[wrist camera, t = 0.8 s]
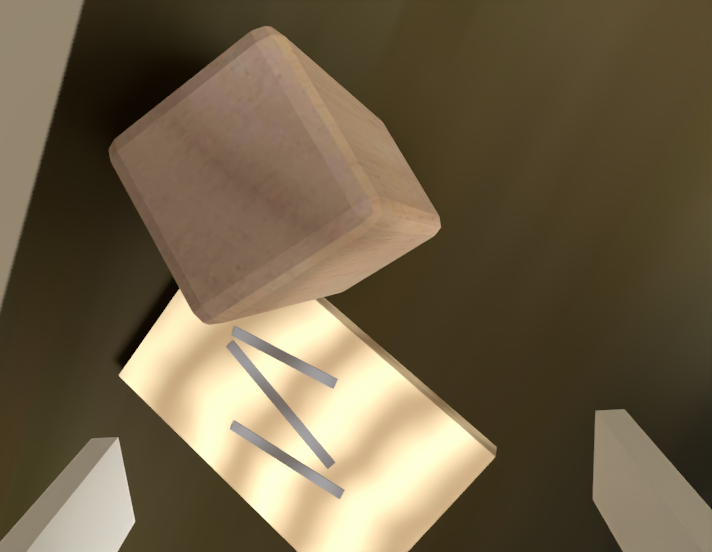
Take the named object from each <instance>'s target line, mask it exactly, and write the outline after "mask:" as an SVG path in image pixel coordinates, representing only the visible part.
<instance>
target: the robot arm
mask: <svg viewBox="0 0 712 552" xmlns="http://www.w3.org/2000/svg"><path fill="white" fill-rule="evenodd" d="M593 501H594V503H595V504H596V506H597V508H598V510H599V511H600V513H601V515H602V517H603V518H604V520H605V522H606V523H607V525H608V527H609V529H610V530H611V532H612V534H613V536H614V537H615V539H616V541H617V543H618V544H619V546H620V548H621V549H622V551H623V552H712V509H711V508H710V507H709V506H708V505H707V504H706V503H705V501H704V500H703V499H702V498H701V497H700V496H699V494H698V493H697V492H696V491H695V490H694V489H693V488H692V486H691V485H690V484H689V483H688V482H687V481H686V480H685V478H684V477H683V476H682V475H681V474H680V473H679V471H678V470H677V469H676V468H675V467H674V466H673V465H672V463H671V462H670V461H669V460H668V459H667V458H666V456H665V455H664V454H663V453H662V452H661V451H660V450H659V448H658V447H657V446H656V445H655V444H654V443H653V442H652V440H651V439H650V438H649V437H648V436H647V435H646V433H645V432H644V431H643V430H642V429H641V428H640V427H639V425H638V424H637V423H636V422H635V421H634V420H633V418H632V417H631V416H630V415H629V414H628V413H627V412H626V410H625V409H617V410H599V411H595V439H594V472H593ZM134 523H135V518H134V513H133V508H132V503H131V498H130V493H129V488H128V483H127V478H126V473H125V468H124V463H123V458H122V453H121V448H120V443H119V438H118V437H110V438H92V439H91V440H90V441H89V442H88V443H87V444H86V445H85V446H84V448H83V449H82V450H81V451H80V452H79V453H78V454H77V455H76V457H75V458H74V459H73V460H72V461H71V462H70V463H69V465H68V466H67V467H66V468H65V469H64V470H63V471H62V472H61V474H60V475H59V476H58V477H57V478H56V479H55V480H54V482H53V483H52V484H51V485H50V486H49V487H48V488H47V489H46V491H45V492H44V493H43V494H42V495H41V496H40V497H39V499H38V500H37V501H36V502H35V503H34V504H33V505H32V506H31V508H30V509H29V510H28V511H27V512H26V513H25V514H24V516H23V517H22V518H21V519H20V520H19V521H18V522H17V523H16V525H15V526H14V527H13V528H12V529H11V530H10V531H9V533H8V534H7V535H6V536H5V537H4V538H3V539H2V540H1V542H0V552H118V550H119V548H120V547H121V545H122V543H123V541H124V540H125V538H126V536H127V535H128V533H129V531H130V530H131V528H132V526H133V525H134Z"/></svg>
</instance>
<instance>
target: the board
mask: <svg viewBox="0 0 712 552" xmlns="http://www.w3.org/2000/svg"><path fill="white" fill-rule="evenodd" d="M119 377H121V378H122V379H123V380H124V381H125V382H126V383H127V384H128V385H129V386H130V387H131V388H132V389H133V390H134V391H135V392H136V393H137V394H138V395H139V396H140V397H141V398H142V399H143V400H144V401H145V402H146V403H147V404H148V405H149V406H150V407H151V408H152V409H153V410H154V411H155V412H156V413H157V414H158V415H159V416H160V417H161V418H162V419H163V420H164V421H165V422H166V423H167V424H168V425H169V426H170V427H171V428H172V429H173V430H174V431H175V432H176V433H177V434H178V435H180V436H181V437H182V438H183V439H184V440H185V441H186V442H187V443H188V444H189V445H190V446H191V447H192V448H193V449H194V450H195V451H196V452H197V453H198V454H199V455H200V456H201V457H202V458H203V459H204V460H205V461H206V462H207V463H208V464H209V465H210V466H211V467H212V468H213V469H214V470H215V471H216V472H217V473H218V474H219V475H220V476H221V477H222V478H223V479H224V480H225V481H226V482H227V483H228V484H229V485H230V486H231V487H232V488H233V489H234V490H235V491H236V492H237V493H238V494H240V495H241V496H242V497H243V498H244V499H245V500H246V501H247V502H248V503H249V504H250V505H251V506H252V507H253V508H254V509H255V510H256V511H257V512H258V513H259V514H260V515H261V516H262V517H263V518H264V519H265V520H266V521H267V522H268V523H269V524H270V525H271V526H272V527H273V528H274V529H275V530H276V531H277V532H278V533H279V534H280V535H281V536H282V537H283V538H284V539H285V540H286V541H287V542H288V543H289V544H290V545H291V546H292V547H293V548H294V549H295V550H296V551H297V552H408V551H409V550H410V549H411V548H412V547H413V546H414V544H415V543H416V542H417V541H418V540H419V539H420V538H421V537H422V536H423V535H424V534H425V533H426V531H427V530H428V529H429V528H430V527H431V526H432V525H433V524H434V523H435V522H436V521H437V520H438V518H439V517H440V516H441V515H442V514H443V513H444V512H445V511H446V510H447V509H448V508H449V507H450V505H451V504H452V503H453V502H454V501H455V500H456V499H457V498H458V497H459V496H460V495H461V494H462V493H463V491H464V490H465V489H466V488H467V487H468V486H469V485H470V484H471V483H472V482H473V481H474V480H475V478H476V477H477V476H478V475H479V474H480V473H481V472H482V471H483V470H484V469H485V468H486V467H487V465H488V464H489V463H490V462H491V461H492V460H493V459H494V458H495V457H496V450H497V447H496V446H495V445H494V444H493V443H492V442H490V441H489V440H488V439H487V438H486V437H485V436H484V435H482V434H481V433H480V432H479V431H478V430H477V429H475V428H474V427H473V426H472V425H471V424H470V423H469V422H467V421H466V420H465V419H464V418H463V417H462V416H460V415H459V414H458V413H457V412H456V411H455V410H453V409H452V408H451V407H450V406H449V405H448V404H447V403H445V402H444V401H443V400H442V399H441V398H440V397H438V396H437V395H436V394H435V393H434V392H433V391H432V390H430V389H429V388H428V387H427V386H426V385H425V384H423V383H422V382H421V381H420V380H419V379H418V378H417V377H415V376H414V375H413V374H412V373H411V372H410V371H408V370H407V369H406V368H405V367H404V366H403V365H402V364H400V363H399V362H398V361H397V360H396V359H395V358H393V357H392V356H391V355H390V354H389V353H388V352H387V351H385V350H384V349H383V348H382V347H381V346H380V345H378V344H377V343H376V342H375V341H374V340H373V339H372V338H370V337H369V336H368V335H367V334H366V333H365V332H363V331H362V330H361V329H360V328H359V327H358V326H357V325H355V324H354V323H353V322H352V321H351V320H350V319H348V318H347V317H346V316H345V315H344V314H343V313H342V312H340V311H339V310H338V309H337V308H336V307H335V306H333V305H332V304H331V303H330V302H329V301H328V300H327V299H325V298H324V297H322V298H318V299H314V300H310V301H306V302H302V303H298V304H295V305H291V306H287V307H283V308H279V309H275V310H271V311H268V312H264V313H260V314H256V315H252V316H248V317H244V318H241V319H237V320H233V321H229V322H225V323H219V324H211V325H208V324H205V323H203V322H202V321H201V320H200V319H199V318H198V317H197V316H196V315H195V314H193V312H192V310H191V308H190V307H189V305H188V303H187V301H186V299H185V297H184V296H183V294H182V292H181V290H180V288H179V290H178V291H177V293H176V294H175V296H174V297H173V298H172V300H171V301H170V303H169V304H168V306H167V307H166V308H165V310H164V311H163V313H162V314H161V316H160V317H159V318H158V320H157V321H156V323H155V324H154V326H153V327H152V328H151V330H150V331H149V333H148V334H147V336H146V337H145V338H144V340H143V341H142V343H141V344H140V346H139V347H138V348H137V350H136V351H135V353H134V354H133V356H132V357H131V358H130V360H129V361H128V363H127V364H126V366H125V367H124V368H123V370H122V371H121V373H120V374H119Z"/></svg>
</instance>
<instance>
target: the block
mask: <svg viewBox="0 0 712 552" xmlns="http://www.w3.org/2000/svg"><path fill="white" fill-rule="evenodd" d="M109 155H110V161H111V163H112V165H113V167H114V169H115V170H116V172H117V174H118V176H119V178H120V180H121V181H122V183H123V185H124V187H125V189H126V191H127V193H128V194H129V196H130V198H131V200H132V202H133V204H134V205H135V207H136V209H137V211H138V213H139V215H140V216H141V218H142V220H143V222H144V224H145V226H146V227H147V229H148V231H149V233H150V235H151V237H152V239H153V240H154V242H155V244H156V246H157V248H158V250H159V251H160V253H161V255H162V257H163V259H164V261H165V262H166V264H167V266H168V268H169V270H170V272H171V273H172V275H173V277H174V279H175V281H176V283H177V285H178V286H179V288H180V290H181V292H182V294H183V296H184V297H185V299H186V301H187V303H188V305H189V307H190V308H191V310H192V312H193V314H195V315H196V316H197V317H198V318H199V319H200V320H201V321H202V322H203V323H205V324H208V325H211V324H219V323H225V322H229V321H233V320H237V319H241V318H244V317H248V316H252V315H256V314H260V313H264V312H268V311H271V310H275V309H279V308H283V307H287V306H291V305H295V304H298V303H302V302H306V301H310V300H314V299H318V298H322V297H325V296H329V295H333V294H337V293H341V292H343V291H345V290H347V289H348V288H350V287H352V286H353V285H355V284H357V283H358V282H360V281H361V280H363V279H365V278H366V277H368V276H370V275H371V274H373V273H375V272H376V271H378V270H379V269H381V268H383V267H384V266H386V265H388V264H389V263H391V262H393V261H394V260H396V259H397V258H399V257H401V256H402V255H404V254H406V253H407V252H409V251H411V250H412V249H414V248H416V247H417V246H419V245H420V244H422V243H424V242H425V241H427V240H429V239H430V238H432V237H434V236H435V235H436V233H437V232H438V230H439V229H440V228H441V224H440V217H439V215H438V213H437V212H436V210H435V208H434V207H433V205H432V203H431V202H430V200H429V198H428V197H427V195H426V193H425V192H424V190H423V188H422V187H421V185H420V183H419V182H418V180H417V178H416V177H415V175H414V173H413V172H412V170H411V168H410V167H409V165H408V163H407V162H406V160H405V158H404V157H403V155H402V153H401V152H400V150H399V148H398V147H397V145H396V143H395V142H394V140H393V138H392V137H391V135H390V133H389V132H388V130H387V128H386V127H385V125H384V123H383V122H382V121H381V120H380V119H379V118H378V117H376V116H375V115H374V114H373V113H372V112H371V111H370V110H368V109H367V108H366V107H365V106H364V105H363V104H362V103H360V102H359V101H358V100H357V99H356V98H355V97H354V96H352V95H351V94H350V93H349V92H348V91H347V90H346V89H344V88H343V87H342V86H341V85H340V84H339V83H338V82H336V81H335V80H334V79H333V78H332V77H331V76H329V75H328V74H327V73H326V72H325V71H324V70H323V69H321V68H320V67H319V66H318V65H317V64H316V63H315V62H313V61H312V60H311V59H310V58H309V57H308V56H307V55H305V54H304V53H303V52H302V51H301V50H300V49H299V48H297V47H296V46H295V45H294V44H293V43H292V42H291V41H289V40H288V39H287V38H286V37H285V36H284V35H282V34H281V33H279V32H278V31H276V30H275V29H273V28H272V27H268V26H264V27H261V28H258V29H255V30H252V31H250V32H249V33H248V34H246V35H245V36H244V37H243V38H241V39H240V40H239V41H238V42H236V43H235V44H234V45H233V46H231V47H230V48H229V49H227V50H226V51H225V52H224V53H222V54H221V55H220V56H219V57H217V58H216V59H215V60H214V61H212V62H211V63H210V64H209V65H207V66H206V67H205V68H204V69H202V70H201V71H200V72H199V73H197V74H196V75H195V76H193V77H192V78H191V79H190V80H188V81H187V82H186V83H185V84H183V85H182V86H181V87H180V88H178V89H177V90H176V91H175V92H173V93H172V94H171V95H170V96H168V97H167V98H166V99H164V100H163V101H162V102H161V103H159V104H158V105H157V106H156V107H154V108H153V109H152V110H151V111H149V112H148V113H147V114H146V115H144V116H143V117H142V118H141V119H139V120H138V121H137V122H135V123H134V124H133V125H132V126H130V127H129V128H128V129H127V130H125V131H124V132H123V133H122V134H120V135H119V136H118V137H117V138H115V139H114V141H113V142H112V144H111V146H110V148H109Z"/></svg>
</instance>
